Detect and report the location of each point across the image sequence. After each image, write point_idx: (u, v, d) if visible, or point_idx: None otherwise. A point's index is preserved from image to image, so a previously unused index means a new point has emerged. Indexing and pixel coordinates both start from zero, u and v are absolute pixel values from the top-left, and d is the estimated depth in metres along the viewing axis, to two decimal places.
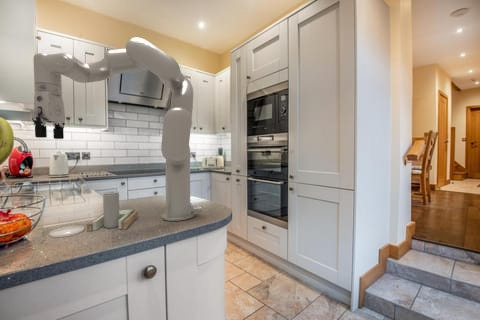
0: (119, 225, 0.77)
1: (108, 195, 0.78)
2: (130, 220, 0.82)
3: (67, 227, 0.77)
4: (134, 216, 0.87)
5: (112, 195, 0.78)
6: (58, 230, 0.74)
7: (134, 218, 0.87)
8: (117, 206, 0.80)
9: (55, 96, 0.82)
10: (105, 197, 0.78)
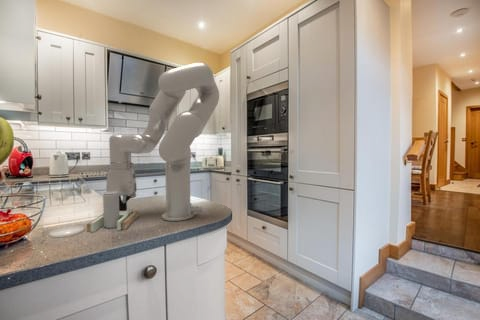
0: (118, 226, 0.76)
1: (108, 195, 0.78)
2: (130, 220, 0.82)
3: (67, 227, 0.77)
4: (134, 216, 0.87)
5: (112, 195, 0.78)
6: (58, 230, 0.74)
7: (134, 218, 0.87)
8: (117, 206, 0.80)
9: None
10: (105, 197, 0.78)
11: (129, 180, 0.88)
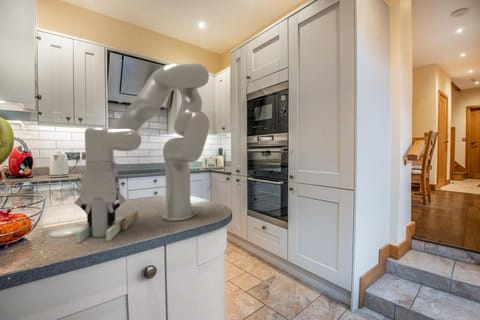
0: (107, 236, 0.67)
1: (96, 200, 0.69)
2: (130, 220, 0.82)
3: (67, 227, 0.77)
4: (134, 216, 0.87)
5: (101, 200, 0.70)
6: (58, 230, 0.74)
7: (134, 218, 0.87)
8: (107, 213, 0.71)
9: None
10: (93, 203, 0.69)
11: (110, 184, 0.70)
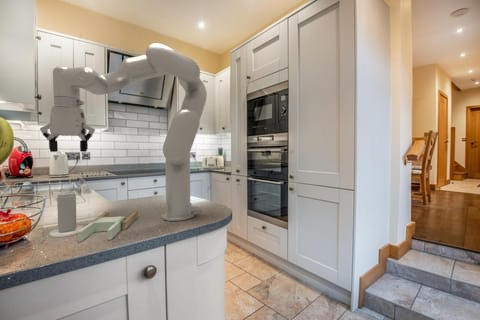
0: (108, 235, 0.68)
1: (61, 196, 0.71)
2: (130, 220, 0.82)
3: None
4: (134, 216, 0.87)
5: (66, 196, 0.72)
6: None
7: (134, 218, 0.87)
8: (72, 208, 0.73)
9: None
10: (58, 199, 0.71)
11: (75, 118, 0.80)
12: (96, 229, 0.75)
